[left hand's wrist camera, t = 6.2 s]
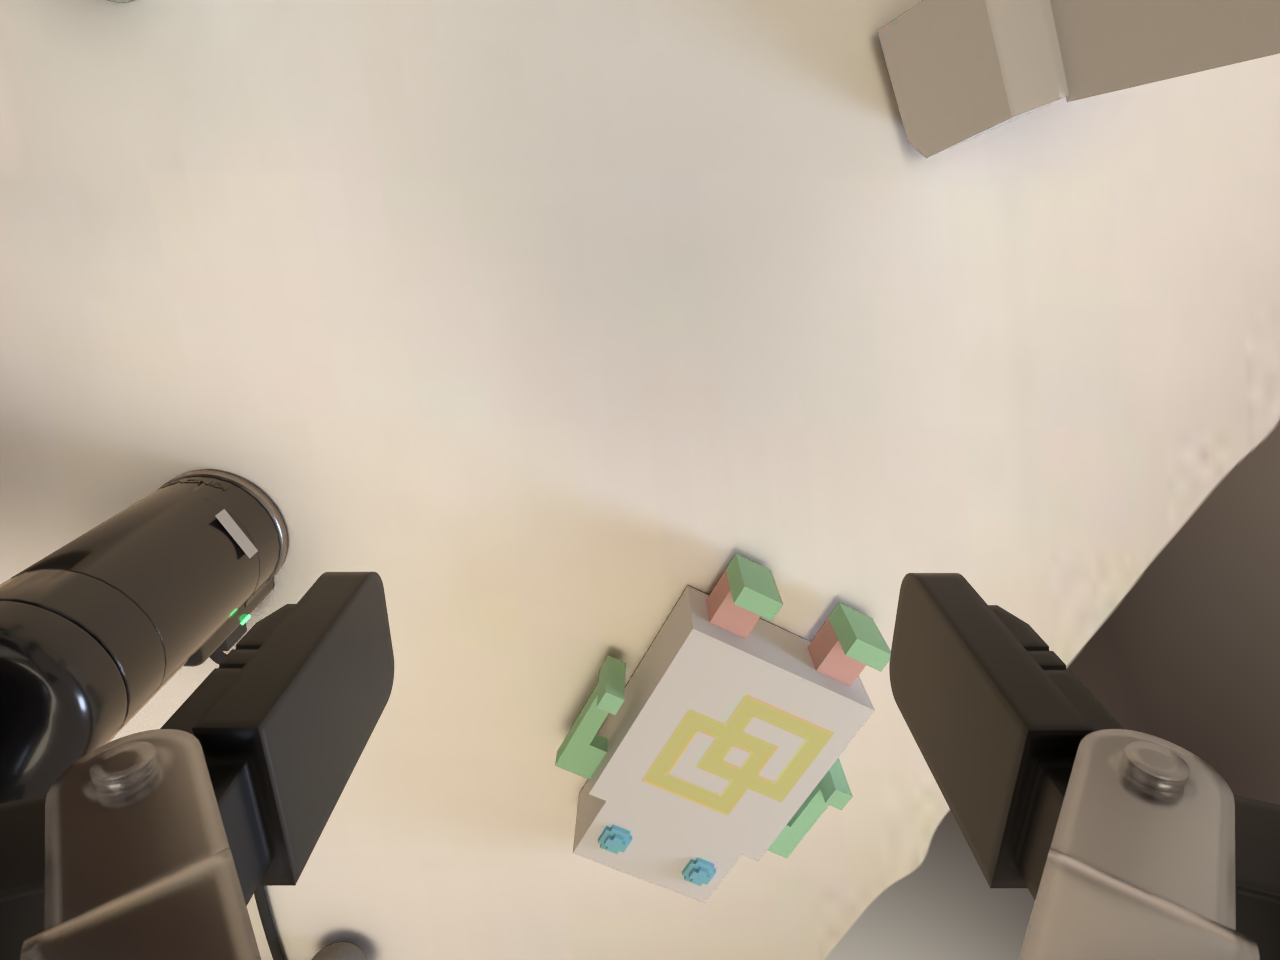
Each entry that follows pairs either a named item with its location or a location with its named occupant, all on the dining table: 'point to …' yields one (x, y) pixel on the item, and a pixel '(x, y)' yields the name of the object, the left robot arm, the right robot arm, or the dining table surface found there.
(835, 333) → the dining table surface
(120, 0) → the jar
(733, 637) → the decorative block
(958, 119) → the electronic device
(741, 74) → the dining table surface
